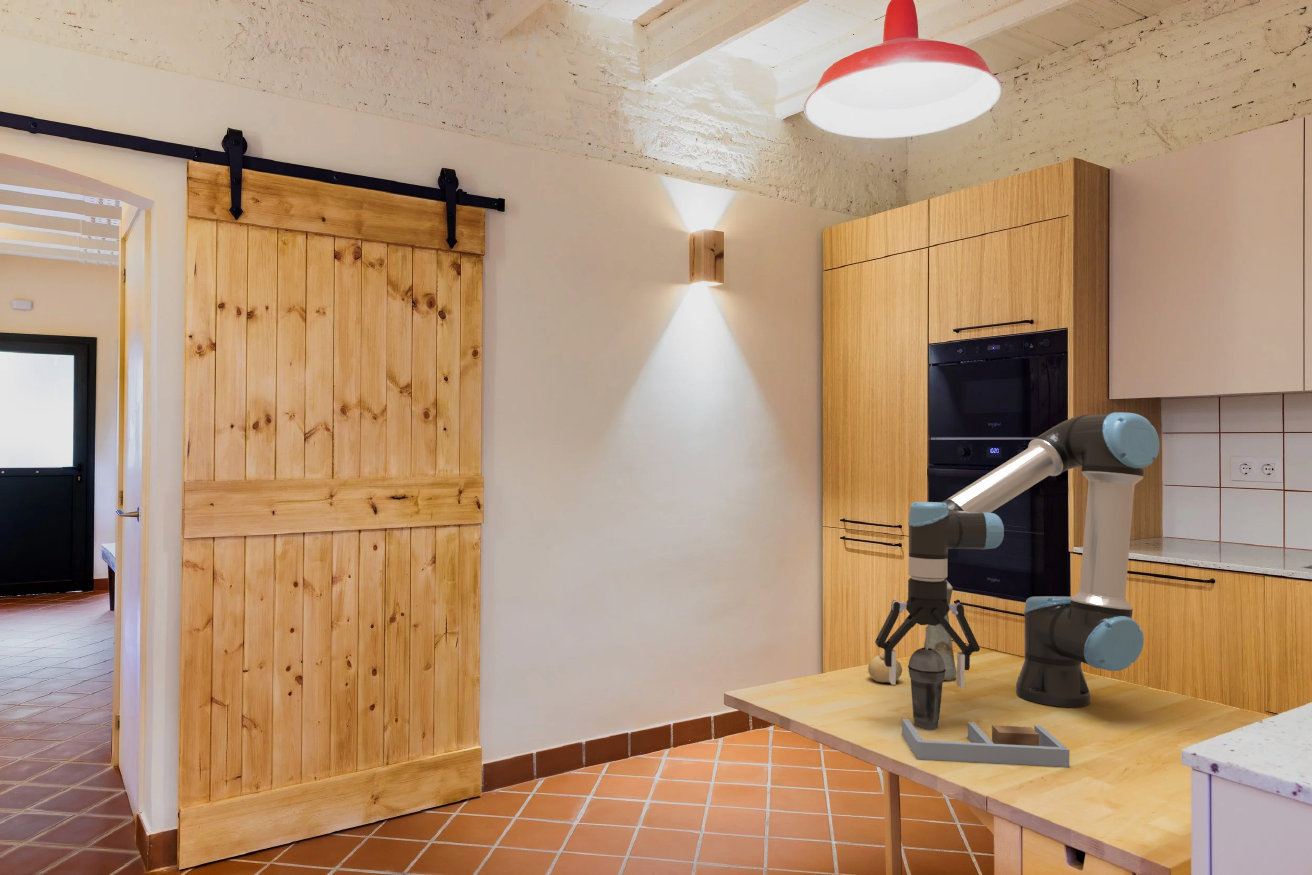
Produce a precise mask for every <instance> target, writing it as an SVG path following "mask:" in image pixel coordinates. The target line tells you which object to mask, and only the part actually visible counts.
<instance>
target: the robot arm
mask: <svg viewBox="0 0 1312 875" xmlns="http://www.w3.org/2000/svg"><path fill="white" fill-rule="evenodd" d="M1158 434H1159V433H1158V432H1157V430H1156V428H1155V427H1154V425H1152V424H1151V422H1150V420H1149V419H1147V418H1146V417H1145V416H1143V415H1140V414H1138V413H1133V412H1123V411H1122V412H1120V411H1119V412H1117V411H1115V412H1110V413H1098V414H1097V413H1096V414H1084V415H1083V414H1082V415H1077V416H1074V417H1071V418H1068V419H1066V420H1064V421H1062V422H1060V423H1058V424H1057V425H1055V426H1052V427H1051V428H1050V429H1048V430H1046V431H1045V432H1043V433H1042V434H1040V435H1038V436H1037V437H1035V438H1033V439H1032V440H1030V442H1029V443H1028V445H1027V446H1028V447H1027V448H1026V449H1025V450H1022V451H1021V452H1020V453H1018V454H1017V455H1015V456H1013V457H1011V458H1010V459H1009V460H1007V461H1006V462H1004V463H1002V464H1001V465H999V466H997V467H996V468H994V469H993V470H991V471H990V472H988V473H986V474H985V475H983V476H981V477H980V478H978V479H977V480H975V481H974V482H972V483H971V484H969V485H967V486H965V487H964V488H963V489H961V490H959V491H957V492H956V493H955V494H952V496H950V497H948V498H947V499H945V500H943V501H941V502H940V501H938V502H937V501H935V502H933V501H915V502H912V503H911V504H910V506H909V513H908V524H907V526H908V571H907V572H908V573H907V574H908V575H909V577H910V578H909V579H908V580H907V601H906V602H902V601H897V600H896V599H895V600H892V601H891V605H890V606H891V607H890V611H889V614H888V615H887V618H886V620H885V621H884V623H883V625H882V627H881V630H880V631H879V632H878V635H877V636H876V639H875V642H874V643H875V645H876V646H877V647H878V648H880V649H883V650H884V652H883V654H884V663H885V665H886V667H889V681H890V684H891V685H895V686H896V684H897V683H896V682H897V681H896V659H897V652H896V650H895V649H894V648H895V647H896V646H897V645H898V644H899V643H900V642H901V641H902V639H903V638H904V637H905V636H906V635H907V633H909V631H911V629H912V628H913V627H915V626H916V624H918V625H920V626H926V625H927V626H928V624H929V625H932V626H936V625H938V624H939V623H940V625H941V626H942V627H943V628H944V629H945V631H946V632H947V633H948V634H949V636H950V637H951V639H952V642H954V643H955V644H956V646H957V647H958V648H959V649H960V650H961V651H956V652H957V653H956V685H957V686H958V687H959V688H960V689H965V687H966V686H965V681H966V680H965V679H966V677H965V676H966V672H965V671H969V670H970V666H971V665H970V664H971V663H970V662H971V658H970V657H971V655H972V654H973V653H975V652H980V650H981V648H980V645H979V643H978V641H977V639H976V636H975V635H974V633H973V630H972V628H971V627H970V624H969V622H968V620H967V618H966V616H965V607H964V605H963V604H961V603H959V602H955V603H952V604H951V603H950V604H949V605H948V603H947V582H946V580H947V578H948V556H949V555H948V553H949V550H954V549H960V550H962V549H964V550H983V551H984V550H989V549H990V550H991V549H992V550H993V549H997V547H999V546H1000V545H1001V544H1002V542H1003V540H1004V537H1005V534H1004V533H1005V526H1004V523H1003V521H1002V518H1001V517H1000V516H999V515H997V514H996V513H995V512H994V511H995V510H997V509H998V508H999V507H1002V506H1003V505H1005V504H1006V503H1008V502H1009V501H1011V500H1013V499H1015V497H1017V496H1019V495H1021V494H1022V493H1023V492H1025V491H1027V490H1029V489H1030V488H1032V487H1033V486H1034V485H1036V484H1037V483H1039V482H1041V481H1043V480H1044V479H1046V478H1047V477H1049V476H1051V477H1056V476H1059V475H1061V474H1062V473H1064V472H1066V471H1068V470H1071V469H1076V468H1080V467H1081V474H1082V475H1083V477H1085V479H1086V480H1087V482H1088V486H1087V487H1088V488H1087V496H1086V497H1087V498H1086V511H1085V518H1084V520H1085V521H1084V531H1083V532H1084V534H1083V545H1082V553H1081V554H1082V555H1081V566H1080V567H1081V568H1080V580H1079V590H1078V592H1077V593H1075V594H1074V595H1072V596H1063V595H1062V596H1055V595H1054V596H1050V595H1049V596H1048V595H1047V596H1030V597H1028V598H1027V599H1026V601H1025V603H1024V604H1025V605H1024V612H1023V615H1024V661H1023V664H1022V667H1021V670H1020V672H1019V676H1018V677H1017V679H1016V680H1017V681H1016V687H1015V688H1016V690H1015V693H1016V695H1017V696H1018V697H1020V698H1022V699H1024V700H1027V701H1030V702H1034V703H1036V704H1041V705H1046V706H1053V707H1062V708H1063V707H1064V708H1079V707H1086V706H1089V705H1090V703H1091V692H1090V689H1089V688H1090V687H1089V685H1088V683H1087V680H1086V677H1085V674H1084V671H1083V668H1082V664H1086V665H1089V666H1091V667H1093V668H1094V669H1099V670H1100V669H1101V670H1105V671H1109V672H1117V671H1123V670H1125V669H1128V668H1129V667H1131V665H1132V663H1135V662H1136V661H1137V660H1138V659H1139V657H1140V655H1141V654H1142V651H1143V648H1144V643H1145V637H1144V632H1143V629H1141V628H1140V627H1141V626H1140V624H1139V623H1138V622H1137V621H1135V620H1134V619H1133V610H1134V608H1133V606H1132V605H1131V604H1130V603H1129V601H1127V599H1126V595H1127V594H1126V593H1127V591H1126V590H1127V579H1128V568H1129V567H1128V566H1129V556H1130V544H1131V543H1130V542H1131V533H1132V532H1131V531H1132V530H1131V529H1132V520H1133V519H1132V518H1133V507H1134V495H1135V494H1134V493H1135V486H1136V484H1138V483H1139V482H1140V481H1141V480H1143V479H1144V476H1145V474H1144V473H1145V468H1147V467H1148V466H1151V465H1152V464H1154V461H1155V460H1156V459H1157V458H1158V456H1159V453H1160V438H1159V435H1158ZM993 512H994V513H993ZM945 578H946V580H944V579H945ZM904 610H906V611H907V612H908V613H909V615H908V616H907V617H905V619H904V621H903V622H902V623H901V625H900V626H899V627H898V628H897V629H896V630H895V631H894V632H893V633H892V634H891V636H890V633H891V631H892V630H893V628H894V625H895V623H896V622H897V620H898V618H899V615H900V614H901V613H903V611H904ZM949 611H950V612H951V613H952V614H953V615H955V618H956V619H957V622H958V624H959V626H960V628H961V631H962V632H963V635H964V637H965V639H966V642H967V643H968V644H966V642H964V641H963V639H962V638H961V637H960V636H959V634H958V633H957V632H956V630H954V628H953V627H952V626H951V624H950V622H949V623H948V622H947V620H946V619H945V618H944V617H945V616H946V614H947V613H948V614H949ZM889 636H890V637H889ZM888 637H889V638H888Z"/></svg>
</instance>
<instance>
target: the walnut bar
mask: <svg viewBox="0 0 1312 875" xmlns="http://www.w3.org/2000/svg"><path fill="white" fill-rule="evenodd" d="M991 741H992V742H993V743H994V744H1008V745H1027V746H1039V734H1038V733H1037V732H1036V731H1035V730H1034V728H1032V727H1031V726H1014V725H1013V726H1011V725H996V724H994V725H991Z"/></svg>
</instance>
